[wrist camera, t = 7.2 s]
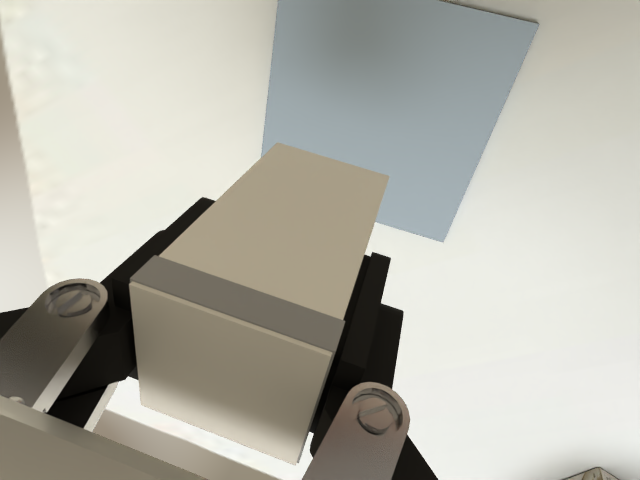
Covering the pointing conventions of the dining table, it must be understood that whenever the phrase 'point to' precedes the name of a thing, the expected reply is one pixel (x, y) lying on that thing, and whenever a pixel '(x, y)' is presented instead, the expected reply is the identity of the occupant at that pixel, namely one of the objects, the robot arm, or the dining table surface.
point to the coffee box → (594, 475)
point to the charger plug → (256, 300)
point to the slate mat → (395, 94)
